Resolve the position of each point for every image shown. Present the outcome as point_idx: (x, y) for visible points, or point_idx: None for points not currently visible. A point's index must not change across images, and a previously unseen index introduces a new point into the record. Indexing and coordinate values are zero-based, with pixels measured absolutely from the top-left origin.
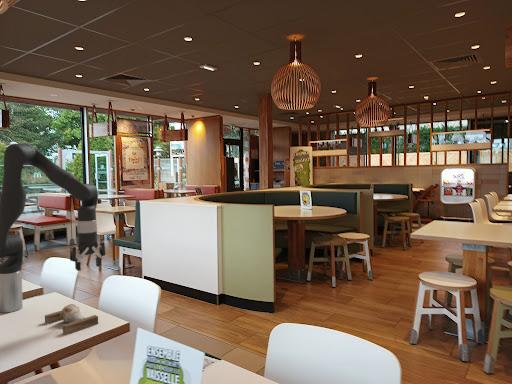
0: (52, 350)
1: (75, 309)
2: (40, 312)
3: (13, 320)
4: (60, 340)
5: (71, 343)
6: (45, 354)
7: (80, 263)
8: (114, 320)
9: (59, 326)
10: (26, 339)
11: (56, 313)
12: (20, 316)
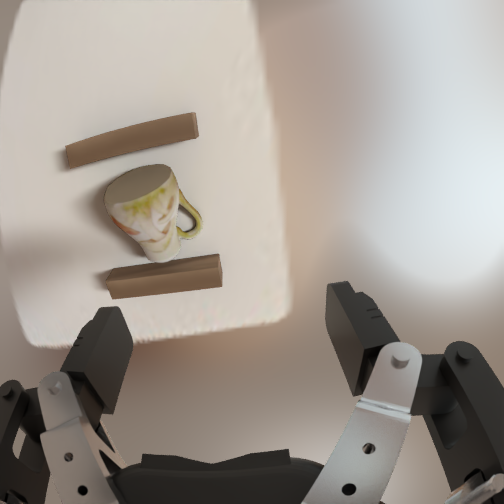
0: None
1: (150, 232)
2: (94, 26)
3: (20, 65)
4: None
5: None
6: None
7: (115, 402)
8: (275, 282)
9: None
10: (34, 244)
11: (101, 152)
12: (41, 37)
